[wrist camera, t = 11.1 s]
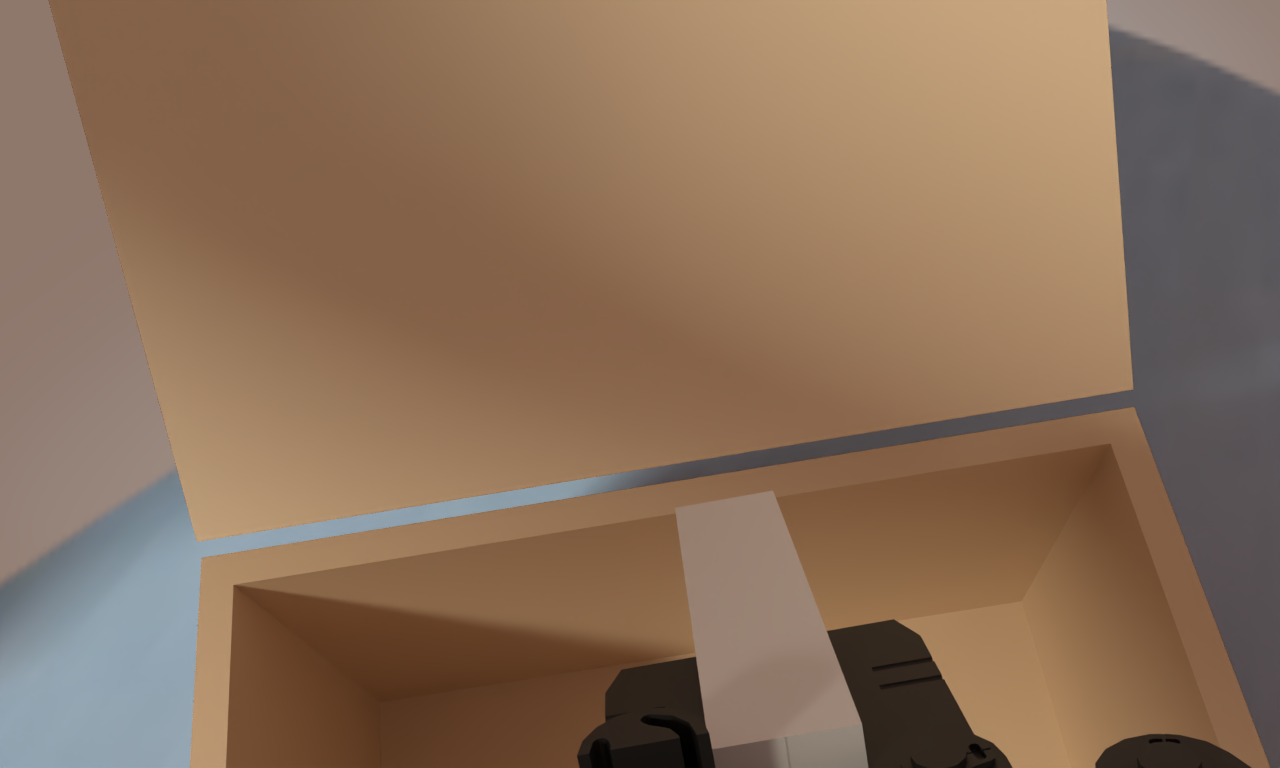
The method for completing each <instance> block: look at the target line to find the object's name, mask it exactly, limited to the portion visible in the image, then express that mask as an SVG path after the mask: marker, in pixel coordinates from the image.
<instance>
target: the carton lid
mask: <svg viewBox="0 0 1280 768" xmlns="http://www.w3.org/2000/svg"><path fill="white" fill-rule="evenodd" d="M48 1H49V4H50V8H51V12H52V15H53V19H54V22H55V26H56V30H57V33H58V37H59V41H60V44H61V48H62V52H63V55H64V58H65V63H66V66H67V70H68V74H69V77H70V81H71V84H72V88H73V92H74V95H75V99H76V103H77V106H78V110H79V114H80V117H81V121H82V125H83V128H84V132H85V135H86V139H87V142H88V146H89V150H90V154H91V157H92V161H93V165H94V168H95V171H96V176H97V179H98V183H99V186H100V190H101V194H102V197H103V201H104V204H105V208H106V212H107V216H108V219H109V223H110V226H111V230H112V234H113V238H114V241H115V245H116V248H117V252H118V256H119V259H120V263H121V267H122V270H123V273H124V278H125V281H126V285H127V289H128V292H129V296H130V299H131V303H132V307H133V310H134V314H135V317H136V321H137V325H138V329H139V332H140V336H141V340H142V343H143V347H144V350H145V354H146V357H147V361H148V365H149V369H150V372H151V376H152V380H153V383H154V387H155V390H156V394H157V398H158V401H159V405H160V409H161V412H162V416H163V420H164V423H165V427H166V431H167V434H168V438H169V442H170V445H171V449H172V452H173V456H174V460H175V463H176V467H177V471H178V474H179V478H180V482H181V485H182V489H183V493H184V496H185V500H186V504H187V507H188V511H189V514H190V518H191V522H192V525H193V529H194V533H195V536H196V540H197V542H198V541H204V540H210V539H216V538H223V537H229V536H235V535H241V534H247V533H253V532H259V531H266V530H272V529H278V528H284V527H290V526H296V525H303V524H309V523H315V522H321V521H327V520H333V519H339V518H346V517H352V516H358V515H364V514H370V513H376V512H383V511H389V510H395V509H401V508H407V507H413V506H419V505H426V504H432V503H438V502H444V501H450V500H456V499H463V498H469V497H475V496H481V495H487V494H493V493H499V492H506V491H512V490H518V489H524V488H530V487H536V486H543V485H549V484H555V483H561V482H567V481H573V480H579V479H586V478H592V477H598V476H604V475H610V474H616V473H623V472H629V471H635V470H641V469H647V468H653V467H660V466H666V465H672V464H678V463H684V462H690V461H696V460H703V459H709V458H715V457H721V456H727V455H733V454H740V453H746V452H752V451H758V450H764V449H770V448H776V447H783V446H789V445H795V444H801V443H807V442H813V441H820V440H826V439H832V438H838V437H844V436H850V435H856V434H863V433H869V432H875V431H881V430H887V429H893V428H900V427H906V426H912V425H918V424H924V423H930V422H936V421H943V420H949V419H955V418H961V417H967V416H973V415H980V414H986V413H992V412H998V411H1004V410H1010V409H1016V408H1023V407H1029V406H1035V405H1041V404H1047V403H1053V402H1060V401H1066V400H1072V399H1078V398H1084V397H1090V396H1096V395H1103V394H1109V393H1115V392H1121V391H1127V390H1133V376H1132V362H1131V347H1130V333H1129V318H1128V304H1127V290H1126V275H1125V261H1124V246H1123V232H1122V217H1121V203H1120V188H1119V174H1118V159H1117V145H1116V131H1115V116H1114V102H1113V87H1112V73H1111V58H1110V44H1109V29H1108V15H1107V1H1106V0H48Z"/></svg>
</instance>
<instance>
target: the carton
mask: <svg viewBox="0 0 1280 768" xmlns="http://www.w3.org/2000/svg"><path fill="white" fill-rule="evenodd" d="M767 491H773V492H774V494H775V497H776V500H777V502H778V505H779V507H780V510H781V513H782V515H783V518H784V521H785V523H786V526H787V528H788V531H789V534H790V536H791V539H792V542H793V544H794V547H795V549H796V552H797V555H798V557H799V560H800V563H801V565H802V568H803V570H804V573H805V576H806V578H807V581H808V584H809V586H810V589H811V591H812V594H813V597H814V599H815V602H816V605H817V607H818V610H819V612H820V615H821V618H822V620H823V623H824V625H825V628H826V631H829V630H835V629H841V628H846V627H852V626H858V625H864V624H869V623H875V622H881V621H887V620H892V619H894V620H896V621H898V622H899V623H901V624H903V625H904V626H906V627H907V628H909V629H911V630H912V631H914V632H916V633H917V634H919V635H920V636H921V637H922V639H923V641H924V643H925V645H926V647H927V648H928V650H929V652H930V654H931V656H932V659H933V661H935V663H936V665H937V667H938V669H939V670H940V672H941V674H942V678H943V679H944V680H945V682H946V683H947V685H948V687H949V689H950V691H951V693H952V694H953V696H954V698H955V700H956V702H957V704H958V705H959V707H960V709H961V711H962V713H963V715H964V716H965V718H966V720H967V722H968V724H969V726H970V727H971V729H972V731H973V733H974V734H975V735H977V736H979V737H981V738H983V739H986V740H988V741H990V742H992V743H994V744H995V745H996V746H997V747H998V748H999V749H1000V750H1001V751H1002V752H1003V753H1004V754H1005V755H1006V757H1007V759H1008V760H1009V762H1010V764H1011V766H1012V767H1013V768H1095V763H1096V761H1097V760H1098V759H1099V757H1100V756H1101V754H1102V753H1103V752H1104V750H1105V749H1106V748H1108V747H1110V746H1112V745H1114V744H1116V743H1118V742H1120V741H1122V740H1123V739H1127V738H1132V737H1137V736H1142V735H1147V734H1175V735H1182V736H1187V737H1191V738H1195V739H1200V740H1204V741H1207V742H1209V743H1211V744H1213V745H1216V746H1218V747H1220V748H1222V749H1224V750H1226V751H1228V752H1230V753H1231V754H1233V755H1234V756H1236V757H1237V758H1238V759H1240V760H1241V761H1243V762H1244V763H1246V764H1247V765H1249V766H1250V767H1251V768H1270V765H1269V763H1268V760H1267V757H1266V755H1265V752H1264V749H1263V747H1262V744H1261V741H1260V739H1259V736H1258V734H1257V731H1256V728H1255V726H1254V723H1253V720H1252V718H1251V715H1250V712H1249V710H1248V707H1247V704H1246V702H1245V699H1244V696H1243V694H1242V691H1241V688H1240V686H1239V683H1238V681H1237V678H1236V675H1235V673H1234V670H1233V667H1232V665H1231V662H1230V659H1229V657H1228V654H1227V651H1226V649H1225V646H1224V643H1223V641H1222V638H1221V635H1220V633H1219V630H1218V628H1217V625H1216V622H1215V620H1214V617H1213V614H1212V612H1211V609H1210V606H1209V604H1208V601H1207V598H1206V596H1205V593H1204V590H1203V588H1202V585H1201V582H1200V580H1199V577H1198V575H1197V572H1196V569H1195V567H1194V564H1193V561H1192V559H1191V556H1190V553H1189V551H1188V548H1187V545H1186V543H1185V540H1184V537H1183V535H1182V532H1181V530H1180V527H1179V524H1178V522H1177V519H1176V516H1175V514H1174V511H1173V508H1172V506H1171V503H1170V500H1169V498H1168V495H1167V492H1166V490H1165V487H1164V484H1163V482H1162V479H1161V477H1160V474H1159V471H1158V469H1157V466H1156V463H1155V461H1154V458H1153V455H1152V453H1151V450H1150V447H1149V445H1148V442H1147V439H1146V437H1145V434H1144V431H1143V429H1142V426H1141V424H1140V421H1139V418H1138V416H1137V413H1136V410H1135V408H1134V407H1130V408H1124V409H1118V410H1112V411H1105V412H1099V413H1093V414H1087V415H1081V416H1075V417H1068V418H1062V419H1056V420H1050V421H1044V422H1037V423H1031V424H1025V425H1019V426H1013V427H1007V428H1000V429H994V430H988V431H982V432H976V433H970V434H963V435H957V436H951V437H945V438H939V439H933V440H926V441H920V442H914V443H908V444H902V445H896V446H889V447H883V448H877V449H871V450H865V451H859V452H852V453H846V454H840V455H834V456H828V457H821V458H815V459H809V460H803V461H797V462H791V463H784V464H778V465H772V466H766V467H760V468H754V469H747V470H741V471H735V472H729V473H723V474H717V475H710V476H704V477H698V478H692V479H686V480H680V481H673V482H667V483H661V484H655V485H649V486H643V487H636V488H630V489H624V490H618V491H612V492H605V493H599V494H593V495H587V496H581V497H575V498H568V499H562V500H556V501H550V502H544V503H538V504H531V505H525V506H519V507H513V508H507V509H501V510H494V511H488V512H482V513H476V514H470V515H464V516H457V517H451V518H445V519H439V520H433V521H426V522H420V523H414V524H408V525H402V526H396V527H389V528H383V529H377V530H371V531H365V532H359V533H352V534H346V535H340V536H334V537H328V538H322V539H315V540H309V541H303V542H297V543H291V544H285V545H278V546H272V547H266V548H260V549H254V550H248V551H241V552H235V553H229V554H223V555H217V556H210V557H204V558H202V562H201V579H200V597H199V615H198V633H197V651H196V669H195V687H194V705H193V722H192V740H191V758H190V768H579V763H578V759H577V754H578V751H579V749H580V746H581V743H582V741H583V740H584V739H585V738H586V737H587V736H588V735H589V734H590V733H591V732H592V731H593V730H594V729H595V728H596V727H598V726H599V725H601V724H603V723H605V721H606V720H605V693H606V691H607V690H608V688H609V687H610V685H611V684H612V683H613V681H614V680H615V678H616V677H617V675H618V674H619V672H620V671H621V670H622V669H627V668H633V667H639V666H645V665H650V664H656V663H662V662H668V661H674V660H679V659H685V658H691V657H696V653H695V646H694V639H693V632H692V625H691V618H690V611H689V604H688V597H687V590H686V583H685V575H684V568H683V561H682V554H681V547H680V540H679V533H678V526H677V519H676V512H675V508H677V507H683V506H688V505H694V504H700V503H705V502H711V501H717V500H722V499H728V498H734V497H739V496H745V495H751V494H756V493H762V492H767Z"/></svg>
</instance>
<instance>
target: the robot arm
mask: <svg viewBox="0 0 1280 768" xmlns="http://www.w3.org/2000/svg"><path fill="white" fill-rule="evenodd" d="M675 512H676V519H677V526H678V533H679V540H680V547H681V554H682V561H683V568H684V575H685V583H686V590H687V597H688V604H689V611H690V618H691V625H692V632H693V639H694V646H695V653H696V657H691V658H685V659H679V660H674V661H668V662H662V663H656V664H650V665H645V666H639V667H633V668H627V669H622V670H621V671H620V672H619V674H618V675H617V677H616V678H615V680H614V681H613V683H612V684H611V685H610V687H609V688H608V690H607V691H606V693H605V720H606V721H605V723H603V724H601V725H599V726H598V727H596V728H595V729H594V730H593V731H592V732H591V733H590V734H589V735H588V736H587V737H586V738H585V739H584V740H583V741H582V743H581V746H580V749H579V751H578V754H577V759H578V763H579V768H1013V767H1012V766H1011V764H1010V762H1009V760H1008V759H1007V757H1006V755H1005V754H1004V753H1003V752H1002V751H1001V750H1000V749H999V748H998V747H997V746H996V745H995V744H994V743H992V742H990V741H988V740H986V739H983V738H981V737H979V736H977V735H975V734H974V733H973V731H972V729H971V727H970V726H969V724H968V722H967V720H966V718H965V716H964V715H963V713H962V711H961V709H960V707H959V705H958V704H957V702H956V700H955V698H954V696H953V694H952V693H951V691H950V689H949V687H948V685H947V683H946V682H945V680H944V679H943V678H942V674H941V672H940V670H939V669H938V667H937V665H936V663H935V661H933V659H932V656H931V654H930V652H929V650H928V648H927V647H926V645H925V643H924V641H923V639H922V637H921V636H920V635H919V634H917V633H916V632H914V631H912V630H911V629H909V628H907V627H906V626H904V625H903V624H901V623H899V622H898V621H896V620H894V619H892V620H887V621H881V622H875V623H869V624H864V625H858V626H852V627H846V628H841V629H835V630H829V631H826V628H825V625H824V623H823V620H822V618H821V615H820V612H819V610H818V607H817V605H816V602H815V599H814V597H813V594H812V591H811V589H810V586H809V584H808V581H807V578H806V576H805V573H804V570H803V568H802V565H801V563H800V560H799V557H798V555H797V552H796V549H795V547H794V544H793V542H792V539H791V536H790V534H789V531H788V528H787V526H786V523H785V521H784V518H783V515H782V513H781V510H780V507H779V505H778V502H777V500H776V497H775V494H774V492H773V491H767V492H762V493H756V494H751V495H745V496H739V497H734V498H728V499H722V500H717V501H711V502H705V503H700V504H694V505H688V506H683V507H677V508H675ZM1095 768H1251V767H1250V766H1249V765H1247V764H1246V763H1244V762H1243V761H1241V760H1240V759H1238V758H1237V757H1236V756H1234V755H1233V754H1231V753H1230V752H1228V751H1226V750H1224V749H1222V748H1220V747H1218V746H1216V745H1213V744H1211V743H1209V742H1207V741H1204V740H1200V739H1195V738H1191V737H1187V736H1182V735H1175V734H1147V735H1142V736H1137V737H1132V738H1127V739H1123V740H1122V741H1120V742H1118V743H1116V744H1114V745H1112V746H1110V747H1108V748H1106V749H1105V750H1104V752H1103V753H1102V754H1101V756H1100V757H1099V759H1098V760H1097V761H1096V763H1095Z"/></svg>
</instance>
